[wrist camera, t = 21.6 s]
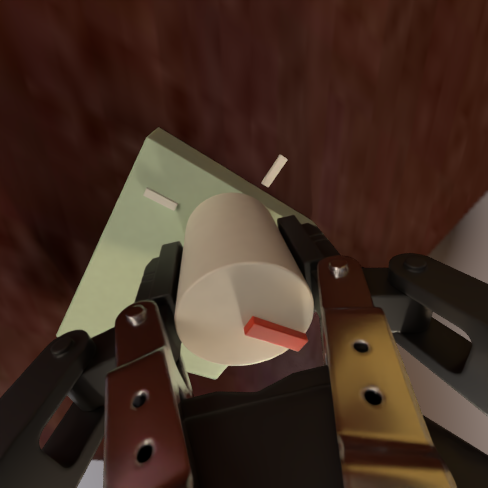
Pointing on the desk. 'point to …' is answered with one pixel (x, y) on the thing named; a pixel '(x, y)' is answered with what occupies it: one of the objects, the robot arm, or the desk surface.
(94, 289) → the panel
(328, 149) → the desk surface
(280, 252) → the knob
